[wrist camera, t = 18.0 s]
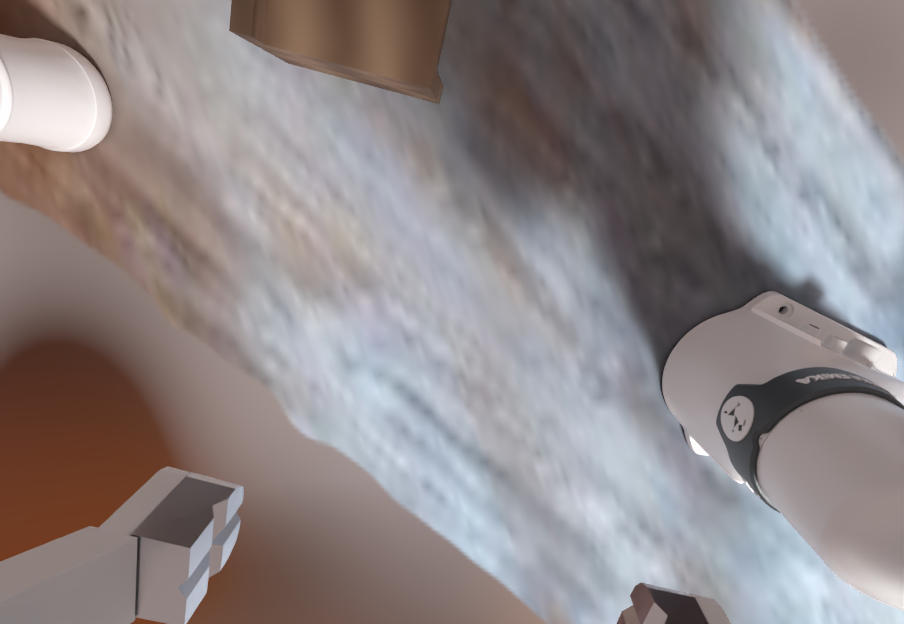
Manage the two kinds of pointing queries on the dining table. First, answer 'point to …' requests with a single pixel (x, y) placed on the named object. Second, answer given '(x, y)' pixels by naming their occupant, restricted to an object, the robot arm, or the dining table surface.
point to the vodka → (51, 96)
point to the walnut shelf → (353, 39)
